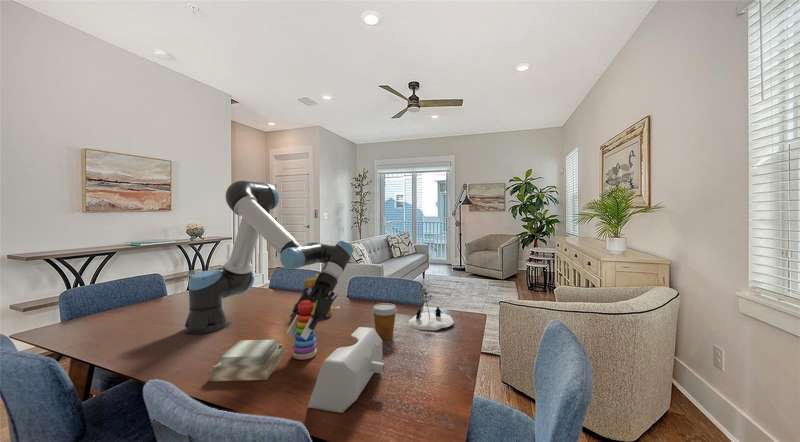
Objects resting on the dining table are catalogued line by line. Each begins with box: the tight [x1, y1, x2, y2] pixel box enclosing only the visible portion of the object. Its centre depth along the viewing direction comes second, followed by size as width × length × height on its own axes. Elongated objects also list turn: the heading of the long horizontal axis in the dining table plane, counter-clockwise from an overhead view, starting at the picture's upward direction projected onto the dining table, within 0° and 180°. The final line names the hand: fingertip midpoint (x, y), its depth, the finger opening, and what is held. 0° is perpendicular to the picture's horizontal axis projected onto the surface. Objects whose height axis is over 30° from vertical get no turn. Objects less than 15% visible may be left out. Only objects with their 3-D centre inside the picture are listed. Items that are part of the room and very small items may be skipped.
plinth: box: [209, 339, 286, 382], centre depth 97 cm, size 16×16×6 cm
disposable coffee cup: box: [371, 302, 398, 341], centre depth 120 cm, size 10×10×12 cm
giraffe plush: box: [293, 271, 341, 318], centre depth 151 cm, size 20×24×19 cm
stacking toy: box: [291, 300, 318, 360], centre depth 105 cm, size 8×8×19 cm
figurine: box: [408, 287, 454, 331], centre depth 135 cm, size 20×18×16 cm
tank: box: [307, 326, 386, 414], centre depth 86 cm, size 25×16×12 cm, turn 166°
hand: (296, 336), depth 102 cm, fingers closed on stacking toy, 5 cm apart
